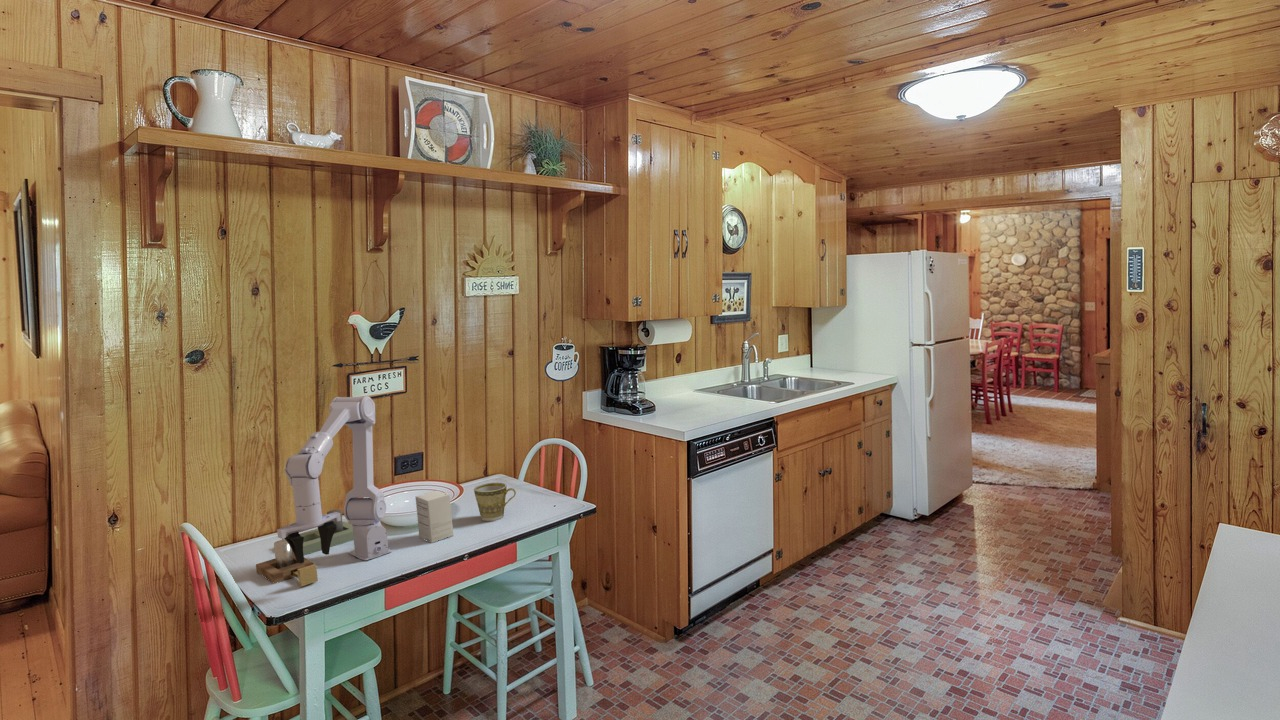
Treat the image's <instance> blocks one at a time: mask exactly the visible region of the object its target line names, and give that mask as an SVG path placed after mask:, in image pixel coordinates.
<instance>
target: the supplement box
mask: <svg viewBox="0 0 1280 720" xmlns="http://www.w3.org/2000/svg"><path fill="white" fill-rule="evenodd" d="M451 503H452V502H451V495H450V494H449V493H447V492H443V491H440V490H435V491H431V492H428V493H423V494H420V495H416V496H415V505H416V517H417V527H418V528H417V529H418V537H419V538H420V539H421V538H422V539H421V540H423V539H425V540H427V541H426V542H428V541H429V543H430V542H431V543H430V544H433V543H436V542H438V540H439V541H441V540H442V541H443V540H445V539H448V538H451V537H454V527H453V516H452V504H451ZM447 537H448V538H447ZM444 538H445V539H444ZM425 540H424V541H425ZM435 541H436V542H435Z"/></svg>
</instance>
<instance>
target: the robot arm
mask: <svg viewBox="0 0 1280 720" xmlns="http://www.w3.org/2000/svg"><path fill="white" fill-rule="evenodd" d="M328 407H329V408H328V409H329V414H328V415H327V417H326V420H324V423H323V425H322V426H321V429H319V431H315V432H312V433H311V435H310V436H309V437H308V439H307V440H306V442H305V443H304V444H303V446H302V447H301V448H300V450H299V451H298V452H297V454H292V455H291V456H289V458H288V459H286V460H287V461H286V462H285V468H284V472H285V476H286V477H287V478H288V482H289V485H290V486H291V487H292V494H293V495H292V496H293V502H294V503H293V504H294V512H295V513H294V514H295V522H292V523H290V524H288V525H285V526H283V527H281V528H277V529H276V533H277V538H279V539H281V540H282V539H283V538H285V540H286V541H287V542H288V544H289V545H290V547H291V548H292V550H293V552H294V554H295V557H296V560H297V562H298V563H304V557H305V555H304V554H303V540H304V537H302V536H300V534H301V533H304V532H307V531H308V530H309V531H310V530H311V529H312V530H313V529H318V531H319V535H320V539H321V549H322V550H321V554H324V555H326V556H327V555H329V554H330V550H331V547H330V545H331V540H332V537H333V535H334V532H335V530H336V528H337V526H336V524H334V522H335V521H336V522H338V521H341V518H340V513H338V512H334V513H330V514H327V513H326V514H323V513H322V511H323V510H322V500H321V491H320V481H319V477H320V476H321V474H322V471H323V467H324V464H325V459H326V456H327V455H329V454H328V453H329V452H330V451H331V449H332V448H333V447H334V440H333V438H334V437H335V436H336V435H337V434H338V432H339V431H340V430H341V429H342V428H343V426H346V427H348V428H349V429H350V430H351V431H352V432H351V433H352V466H353V467H352V468H353V469H352V474H353V475H352V476H353V478H352V479H353V488H352V489H350V491H348V492H347V493H346V494H345V501H344V506H343V515H344V518H345V519H346V520H347V521H348V522H349V524H351V525H352V527H353V537H354V540H353V546H354V549H353V550H350V551H348V554H350V555H352V556H353V557H355V558H358V559H360V560H362V561H368V560H371V559H375V558H378V557H380V556H384V555H387V554H390V553H392V551H393V550H392V549H390V548H389V540H388V531H387V529H386V528H385V527H384V525H382V523H381V521H382V519H383V518H384V517H385V514H386V512H387V504H386V501H385V494H384V491H383V490H381V489H380V488H378V487H377V486H375V485H374V483H375V482H374V449H373V448H374V445H373V440H374V439H373V438H374V435H373V426H375V424H376V403H375V401H373V399H372V397H370V396H368V395H365V396H347V397H346V396H343V397H341V396H336V397H334V398H333V399H332V400H331V403H330V404H329V406H328ZM293 552H292V553H293Z"/></svg>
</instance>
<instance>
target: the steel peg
mask: <svg viewBox="0 0 1280 720" xmlns="http://www.w3.org/2000/svg"><path fill="white" fill-rule="evenodd" d="M273 547H274V557H275V558H274V559H276V568H277V569H281V568H284V567H287V566H290V565H293V555H292V553H293V552H292V548H291V547H290V545H289V544H288V542H287V541H286V540H282V539H281V540H277V541H275V542H273ZM291 572H293V570H292V571H291Z"/></svg>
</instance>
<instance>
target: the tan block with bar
mask: <svg viewBox="0 0 1280 720" xmlns="http://www.w3.org/2000/svg"><path fill="white" fill-rule="evenodd" d="M317 571H318V569H317V565H316V564H315V563H314V564H313V565H310V566H307V567H303V568H300V569H297V571H295V572H293V576H295V577H294V578H297V579H298V585H299V586H300V587H304V586H308V585H310V584H312V583H316V582H318V581H319V580H318V579H319V577H318V572H317Z"/></svg>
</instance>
